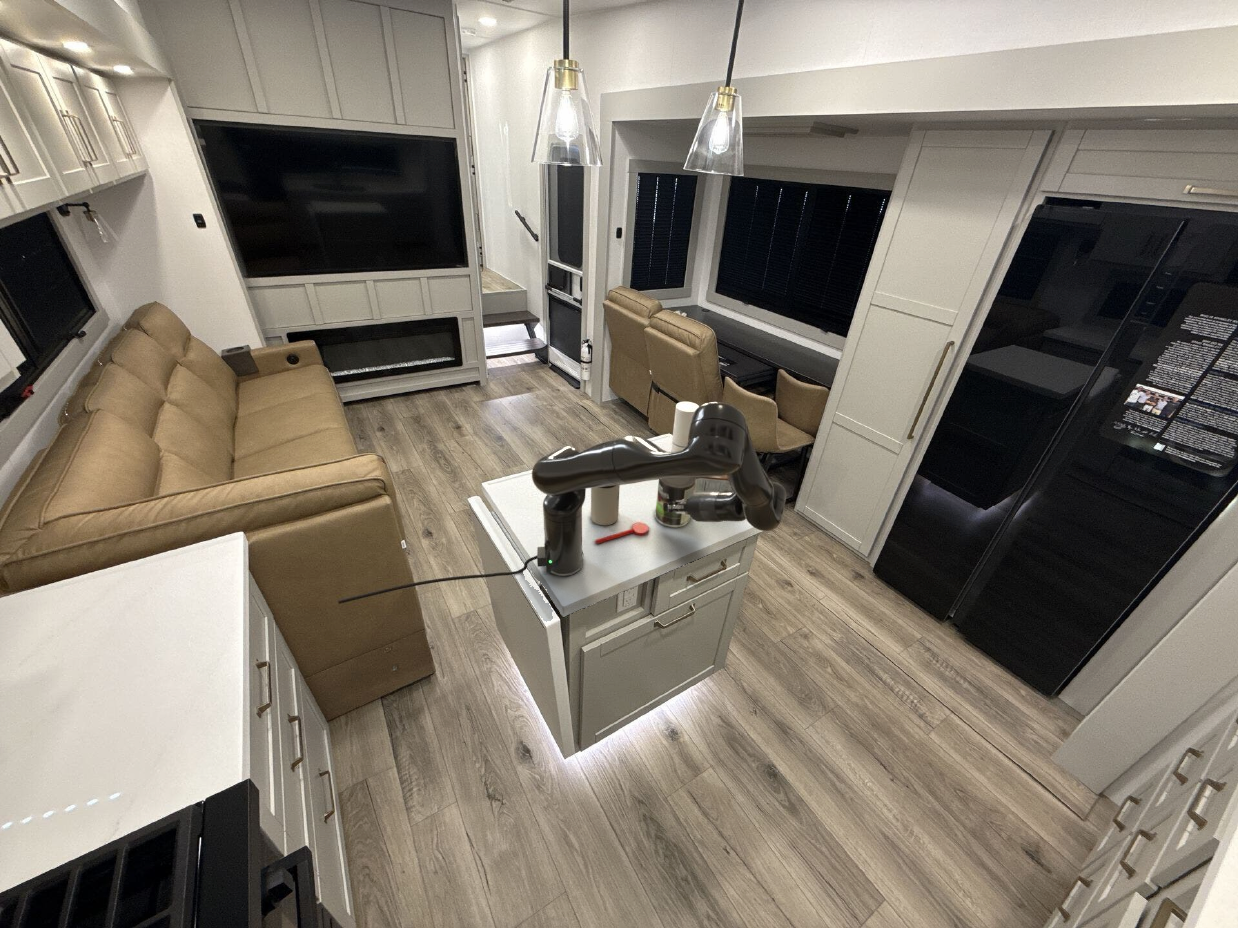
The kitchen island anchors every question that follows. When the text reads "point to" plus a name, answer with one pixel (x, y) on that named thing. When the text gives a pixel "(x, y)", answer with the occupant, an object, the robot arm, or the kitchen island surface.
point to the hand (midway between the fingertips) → (665, 506)
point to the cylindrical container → (682, 424)
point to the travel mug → (605, 504)
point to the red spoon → (627, 532)
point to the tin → (712, 484)
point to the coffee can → (673, 499)
